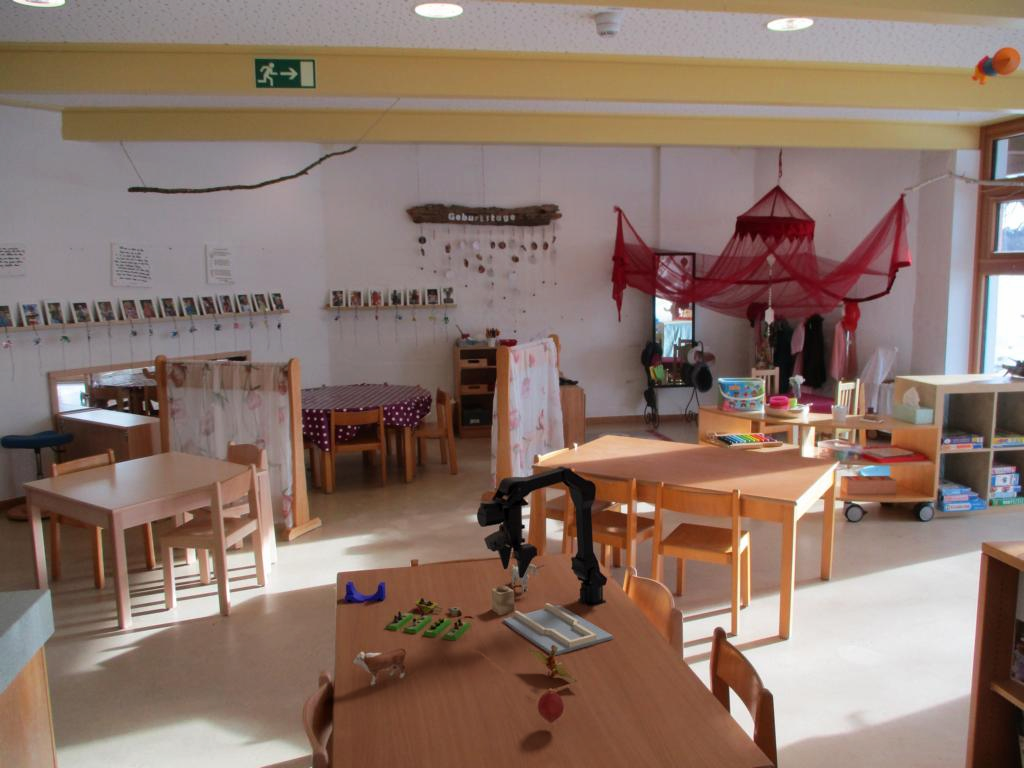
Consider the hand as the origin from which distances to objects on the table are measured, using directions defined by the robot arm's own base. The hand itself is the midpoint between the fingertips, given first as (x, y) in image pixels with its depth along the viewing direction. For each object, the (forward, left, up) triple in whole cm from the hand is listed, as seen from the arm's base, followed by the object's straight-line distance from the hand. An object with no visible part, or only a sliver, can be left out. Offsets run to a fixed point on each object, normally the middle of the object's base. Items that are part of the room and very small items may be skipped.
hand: (513, 573), depth 235 cm
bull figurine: (+47, +13, -15) cm, 51 cm away
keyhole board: (-7, +11, -15) cm, 20 cm away
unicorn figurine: (-15, -20, -15) cm, 29 cm away
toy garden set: (+20, -13, -16) cm, 28 cm away
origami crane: (+10, +31, -16) cm, 36 cm away
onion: (+22, +53, -15) cm, 59 cm away
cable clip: (+32, -40, -16) cm, 53 cm away
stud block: (-1, -9, -15) cm, 18 cm away
